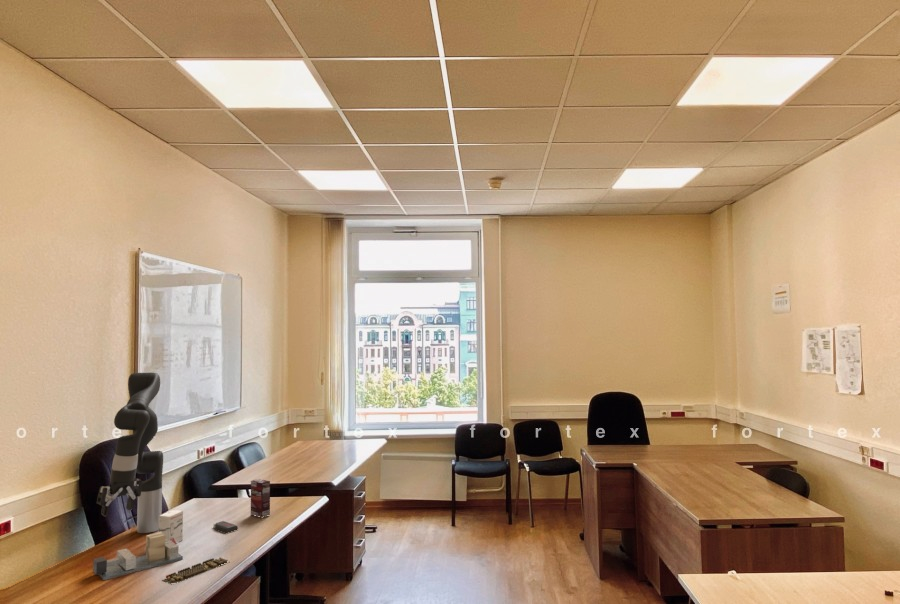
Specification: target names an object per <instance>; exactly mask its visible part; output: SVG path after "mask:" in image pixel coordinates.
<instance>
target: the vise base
mask: <svg viewBox="0 0 900 604" xmlns="http://www.w3.org/2000/svg"><path fill="white" fill-rule="evenodd" d="M135 557H136V556H135ZM183 558H184V557H183V555H181V554H180V553H179V545H177V543H173V542H172V541H170V540H169V539H165V558H162V559H158V560H154V561H149V560H148V559H146V554H144V555H141V556H137V557H136V567H135V568H134V569H130V570H125V569H124V568H123V567H122V566H121V565H120V564H118V565H114V566H110V567H107V572H105V573H102V574H98V576H100V578H101V580H103V581H107V580H110V579H114V578H115V579H116V578H118V577H122V576H126V575H129V574H128V573H130V574H132V572H133V573H136V572H135V571H137V572H140V571H139V570H141V571H144V570H143V569H145V570H147V569H146V568H148V569H151V568H150V567H152V568H155V567H154V566H156V567H160V566H163V565H167V564H170V563H174V562H179V561H181V560H183ZM159 565H160V566H159ZM125 574H126V575H125Z"/></svg>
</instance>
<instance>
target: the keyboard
mask: <svg viewBox="0 0 900 604" xmlns="http://www.w3.org/2000/svg"><path fill="white" fill-rule="evenodd" d="M227 561H229V560H228V559H226V558H223V557H220V556H219V558H216V559H215V558H209V559H206V560H204V561H202V562H198V563H196V564H194V565H191V567H190V566H188V567H185V568H183V569H180V570H177V573H176V572H172V573H170V574H167V575H166V576H165V579H162V580H161V582H163V583H166V582H168V583H167V584H169V583H176V584H178V583H181V582H182V581H185V579H186V580H189V579H191V578H194V577H196V576H198V575H201V574H203V573H206V572H208V571H211V570H215V569H216V567H217V568H218V566H219V565H221V564H224V563H227ZM227 564H228V563H227ZM224 565H225V564H224ZM219 567H220V566H219ZM188 578H189V579H188ZM180 581H181V582H180ZM177 582H178V583H177Z"/></svg>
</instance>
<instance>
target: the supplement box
mask: <svg viewBox="0 0 900 604" xmlns="http://www.w3.org/2000/svg"><path fill="white" fill-rule="evenodd" d="M270 513H271V481H270V480H265V479H260V478H257V479H253V480H250V516H251V515H256V516H260V517H263V516H267V515H270V516H271V514H270Z"/></svg>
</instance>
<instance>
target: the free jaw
mask: <svg viewBox="0 0 900 604" xmlns="http://www.w3.org/2000/svg"><path fill="white" fill-rule="evenodd" d="M92 562H93V563H92V571H93V573H94V574H95V576H97V575H98V576H99V574H102V573H105V572H107V567H110V566H114V565H118V564H120V565H121V566H122V567H123V568H124V569H125V570H130V569H134V568H135V567H136V555H134V554H133V552H131V551H130V550H129V548H122V549H118V550H116V557H115V558H111V559H110V558H109V559H106V558H105V556H99V557H95V558H93V559H92Z"/></svg>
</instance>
